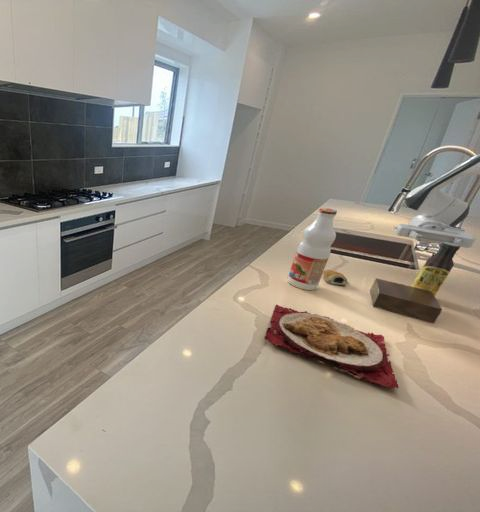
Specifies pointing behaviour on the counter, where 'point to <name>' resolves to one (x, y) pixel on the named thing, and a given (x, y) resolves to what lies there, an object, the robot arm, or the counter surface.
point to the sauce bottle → (436, 268)
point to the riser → (405, 300)
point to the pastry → (334, 277)
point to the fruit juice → (313, 251)
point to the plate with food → (332, 344)
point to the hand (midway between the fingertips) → (436, 240)
